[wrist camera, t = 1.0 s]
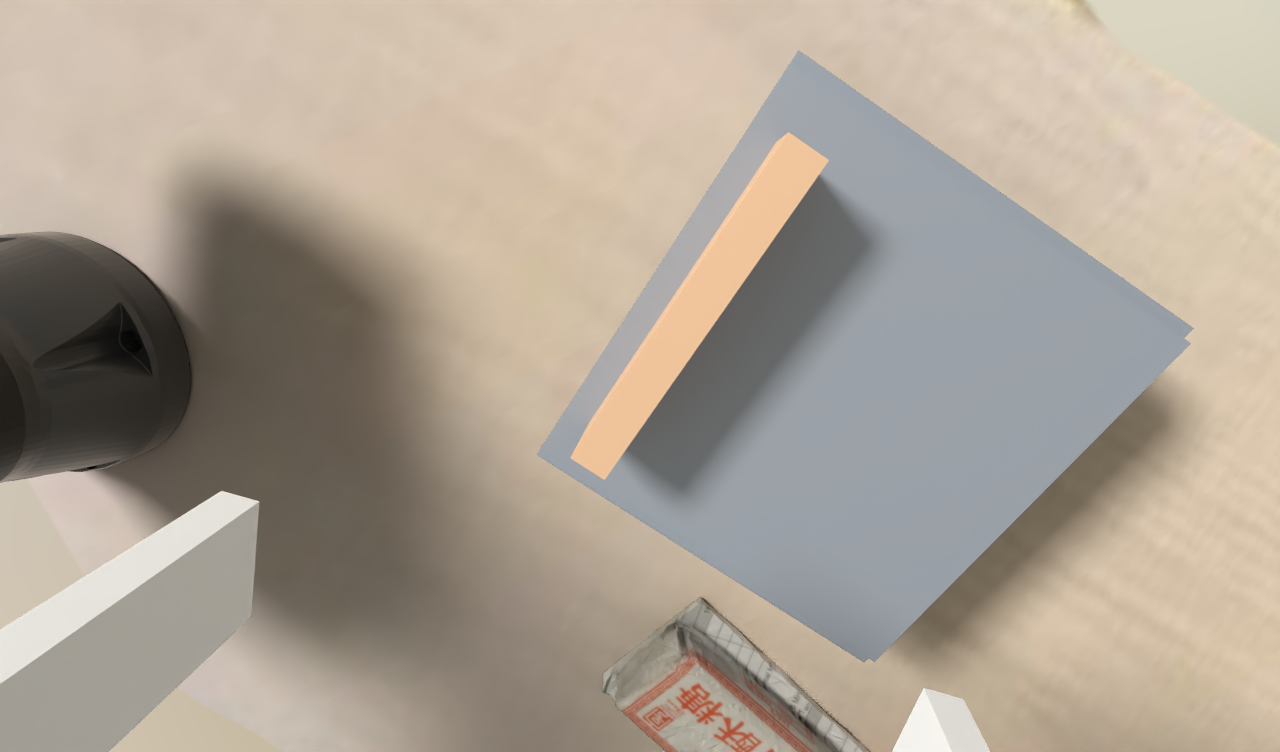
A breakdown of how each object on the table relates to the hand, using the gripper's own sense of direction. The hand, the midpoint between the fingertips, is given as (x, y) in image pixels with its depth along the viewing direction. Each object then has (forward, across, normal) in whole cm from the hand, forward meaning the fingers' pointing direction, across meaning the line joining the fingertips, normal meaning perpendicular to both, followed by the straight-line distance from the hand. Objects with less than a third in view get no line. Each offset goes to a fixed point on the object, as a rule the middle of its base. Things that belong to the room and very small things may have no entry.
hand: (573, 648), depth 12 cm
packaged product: (+26, +12, -24) cm, 37 cm away
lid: (+18, +8, +2) cm, 20 cm away
